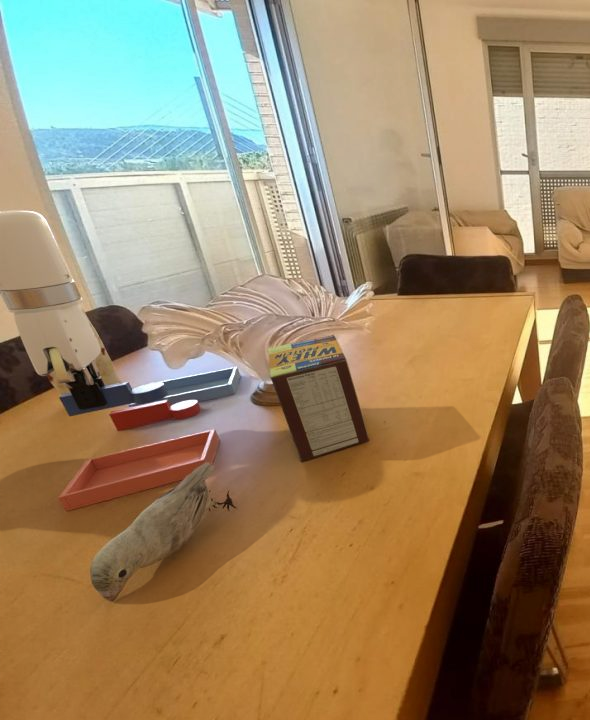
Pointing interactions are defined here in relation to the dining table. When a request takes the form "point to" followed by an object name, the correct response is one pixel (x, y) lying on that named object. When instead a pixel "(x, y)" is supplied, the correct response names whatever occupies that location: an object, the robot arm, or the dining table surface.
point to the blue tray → (200, 386)
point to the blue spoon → (119, 396)
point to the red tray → (139, 469)
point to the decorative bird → (154, 533)
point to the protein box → (317, 396)
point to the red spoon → (153, 413)
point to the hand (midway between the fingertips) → (95, 404)
